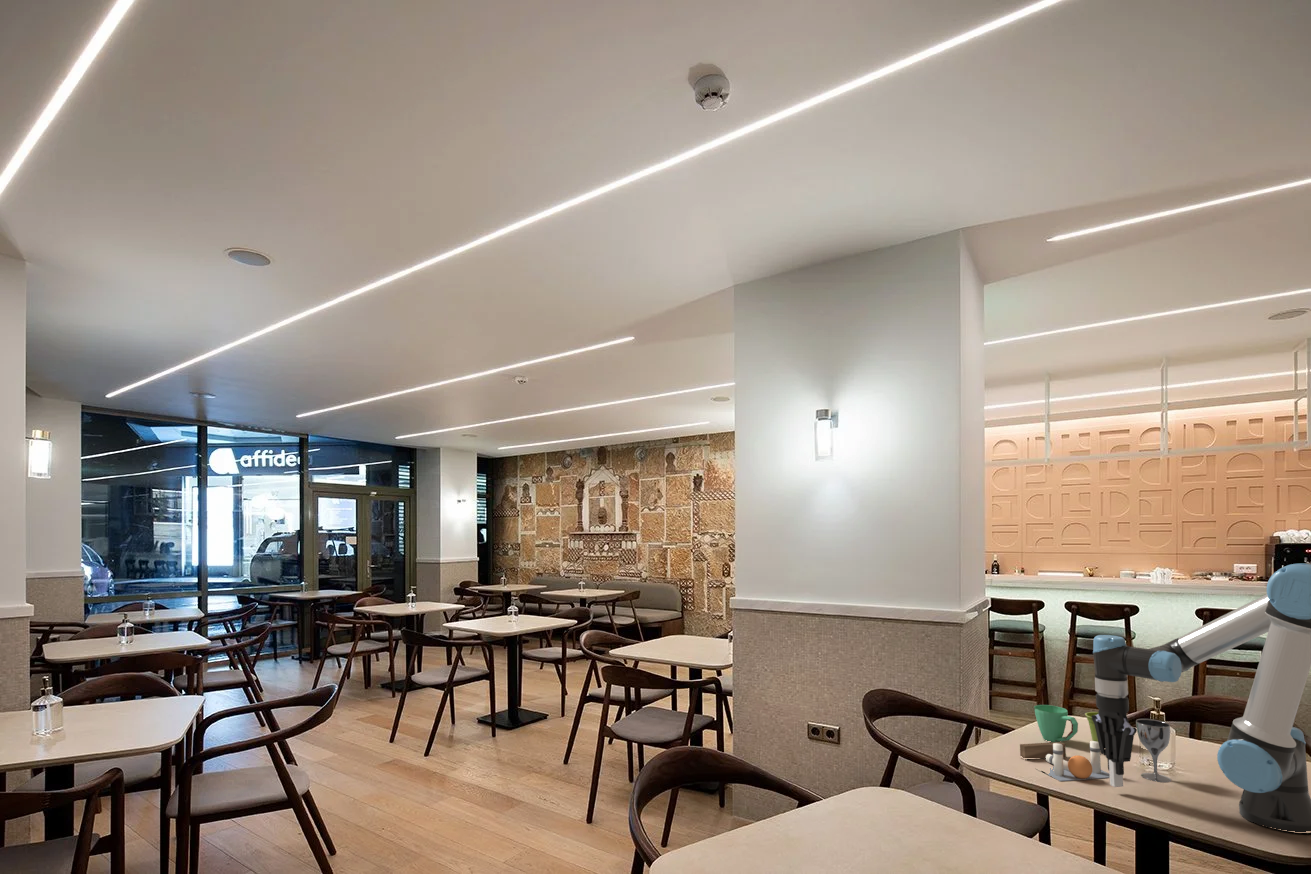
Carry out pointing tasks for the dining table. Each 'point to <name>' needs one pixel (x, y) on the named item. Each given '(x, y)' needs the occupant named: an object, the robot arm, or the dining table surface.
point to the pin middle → (1051, 760)
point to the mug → (1054, 722)
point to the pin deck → (1070, 777)
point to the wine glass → (1154, 743)
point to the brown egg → (1080, 767)
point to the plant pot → (1092, 725)
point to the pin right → (1095, 757)
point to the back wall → (1039, 750)
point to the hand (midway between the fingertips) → (1116, 785)
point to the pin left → (1058, 759)
